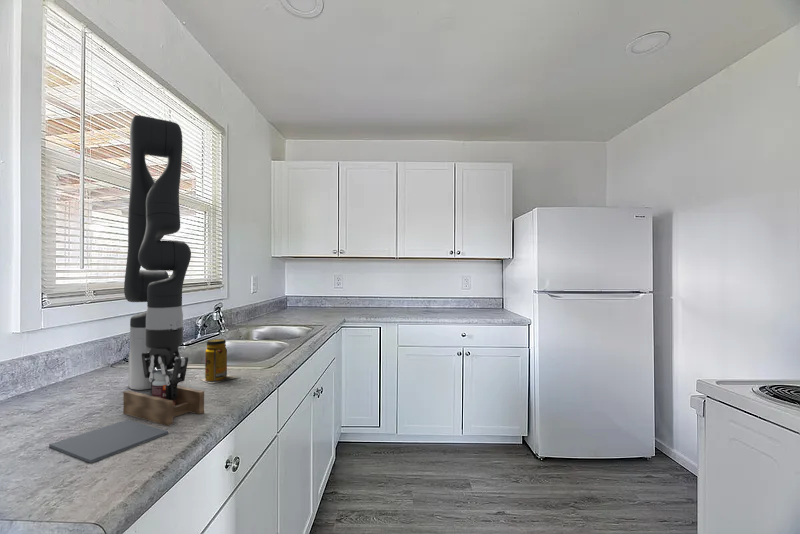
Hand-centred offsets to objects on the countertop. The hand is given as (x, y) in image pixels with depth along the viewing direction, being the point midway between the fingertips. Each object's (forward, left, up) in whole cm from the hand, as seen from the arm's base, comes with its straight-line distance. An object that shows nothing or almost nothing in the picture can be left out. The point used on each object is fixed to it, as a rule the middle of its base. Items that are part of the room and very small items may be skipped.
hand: (163, 398), depth 94 cm
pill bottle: (0, 0, -2) cm, 2 cm away
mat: (+5, -14, -3) cm, 15 cm away
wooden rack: (0, 0, -3) cm, 3 cm away
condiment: (-13, +26, -4) cm, 29 cm away
